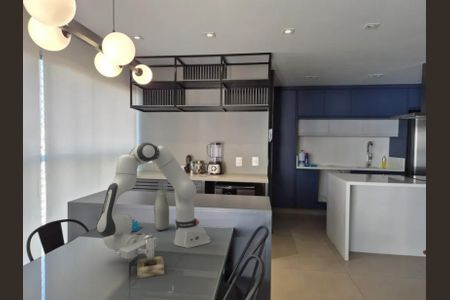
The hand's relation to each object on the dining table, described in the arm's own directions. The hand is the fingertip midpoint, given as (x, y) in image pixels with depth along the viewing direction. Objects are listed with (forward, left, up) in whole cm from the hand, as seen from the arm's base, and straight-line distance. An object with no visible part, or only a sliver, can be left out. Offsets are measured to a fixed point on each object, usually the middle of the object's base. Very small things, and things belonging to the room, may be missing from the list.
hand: (151, 249), depth 125 cm
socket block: (+1, -1, -10) cm, 10 cm away
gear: (+9, -63, -11) cm, 64 cm away
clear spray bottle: (+1, -1, -8) cm, 8 cm away
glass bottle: (-9, -58, -10) cm, 59 cm away
